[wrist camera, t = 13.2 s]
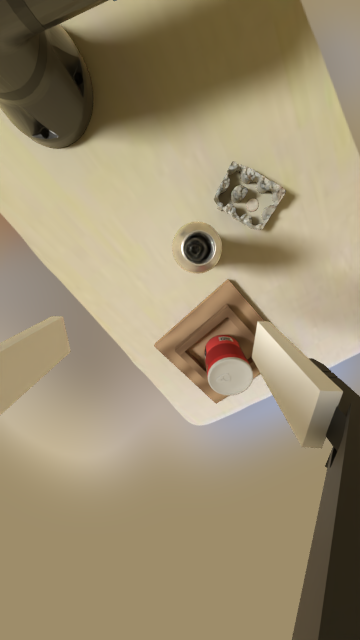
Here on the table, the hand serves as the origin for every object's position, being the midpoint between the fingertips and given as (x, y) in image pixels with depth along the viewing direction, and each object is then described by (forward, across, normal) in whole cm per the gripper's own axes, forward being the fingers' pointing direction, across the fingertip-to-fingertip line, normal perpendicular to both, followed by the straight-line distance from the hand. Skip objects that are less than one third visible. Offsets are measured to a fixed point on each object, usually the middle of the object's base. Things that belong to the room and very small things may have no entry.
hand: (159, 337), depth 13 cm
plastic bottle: (+30, +3, +5) cm, 31 cm away
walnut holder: (+29, +10, -16) cm, 35 cm away
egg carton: (+31, +12, +14) cm, 36 cm away
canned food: (+28, +10, -16) cm, 34 cm away
